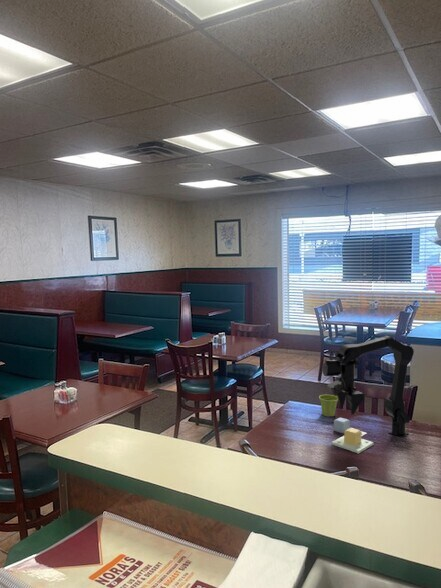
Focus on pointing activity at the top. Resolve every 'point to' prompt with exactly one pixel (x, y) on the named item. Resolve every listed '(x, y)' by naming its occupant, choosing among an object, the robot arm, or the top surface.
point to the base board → (356, 448)
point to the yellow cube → (352, 436)
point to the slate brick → (341, 425)
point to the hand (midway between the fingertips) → (346, 410)
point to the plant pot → (328, 404)
